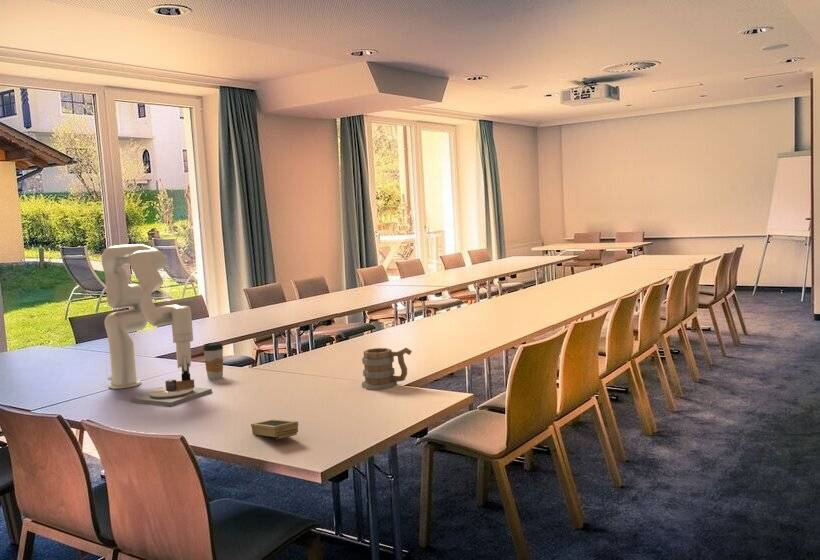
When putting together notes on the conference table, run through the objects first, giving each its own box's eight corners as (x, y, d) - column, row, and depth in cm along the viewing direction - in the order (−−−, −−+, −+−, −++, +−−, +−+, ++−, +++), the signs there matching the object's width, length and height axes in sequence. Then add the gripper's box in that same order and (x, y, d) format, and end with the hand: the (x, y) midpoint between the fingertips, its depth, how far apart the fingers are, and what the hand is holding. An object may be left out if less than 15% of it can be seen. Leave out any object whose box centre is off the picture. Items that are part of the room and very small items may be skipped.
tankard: (358, 389, 265) (355, 350, 263) (370, 381, 277) (368, 344, 275) (407, 391, 258) (405, 351, 257) (417, 382, 270) (415, 345, 269)
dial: (148, 400, 257) (147, 387, 257) (151, 390, 273) (150, 378, 272) (194, 394, 262) (193, 382, 262) (194, 385, 277) (193, 374, 277)
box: (276, 443, 199) (274, 426, 199) (246, 439, 217) (244, 423, 217) (302, 438, 203) (300, 421, 204) (270, 434, 222) (269, 418, 222)
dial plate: (131, 402, 263) (130, 397, 263) (173, 389, 282) (172, 384, 282) (171, 406, 253) (170, 401, 253) (211, 392, 272) (211, 388, 272)
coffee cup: (210, 381, 292) (207, 346, 291) (202, 378, 299) (199, 344, 297) (228, 377, 298) (226, 343, 296) (220, 375, 304) (217, 341, 303)
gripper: (172, 335, 275) (176, 381, 277) (172, 341, 261) (176, 389, 263) (192, 334, 278) (195, 378, 279) (193, 339, 264) (197, 386, 265)
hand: (186, 383), depth 271 cm, fingers closed
